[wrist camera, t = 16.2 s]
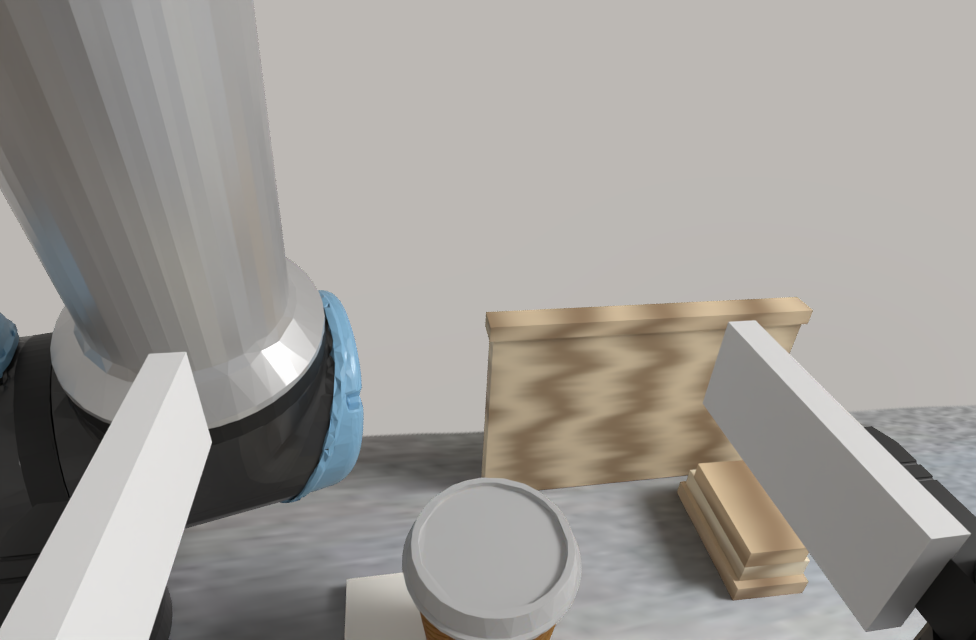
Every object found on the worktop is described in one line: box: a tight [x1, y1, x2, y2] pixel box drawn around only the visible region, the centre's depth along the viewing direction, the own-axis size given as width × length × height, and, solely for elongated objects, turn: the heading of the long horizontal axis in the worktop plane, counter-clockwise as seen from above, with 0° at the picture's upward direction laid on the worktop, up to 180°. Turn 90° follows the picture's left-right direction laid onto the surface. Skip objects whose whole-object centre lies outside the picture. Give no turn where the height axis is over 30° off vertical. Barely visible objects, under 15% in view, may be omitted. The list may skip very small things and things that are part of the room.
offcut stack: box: [677, 460, 810, 600], centre depth 46 cm, size 6×10×5 cm, turn 8°
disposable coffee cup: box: [402, 478, 582, 640], centre depth 34 cm, size 10×10×12 cm
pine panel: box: [482, 297, 813, 490], centre depth 47 cm, size 25×2×17 cm, turn 99°
